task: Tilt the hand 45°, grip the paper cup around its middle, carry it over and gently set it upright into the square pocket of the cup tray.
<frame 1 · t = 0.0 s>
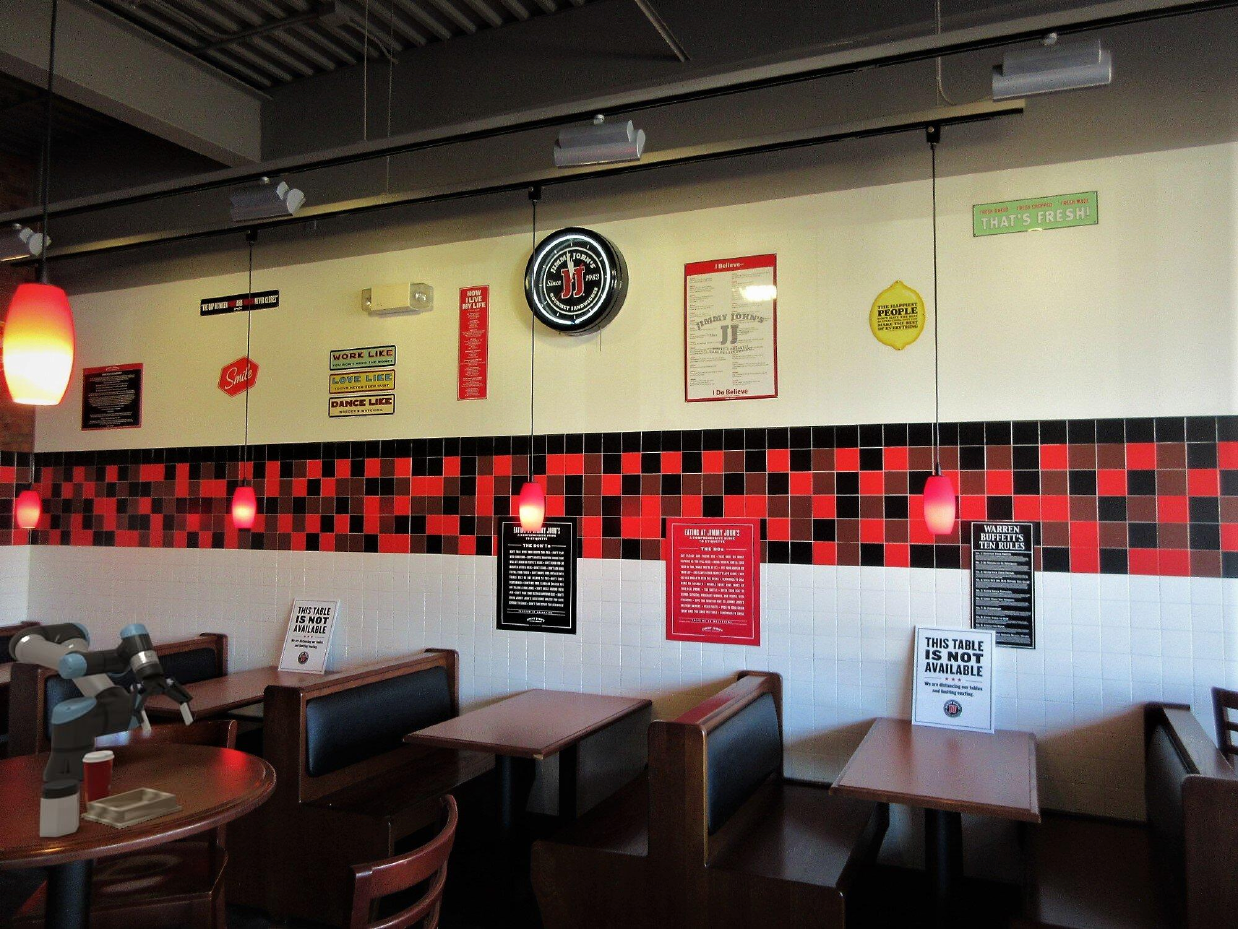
hand: (169, 727, 270), 15 cm above the table, tool tilted 35°, fingers open, 13 cm apart
paper cup: (97, 805, 243), on the table
cup tray: (132, 814, 235), on the table
jar: (59, 832, 222), on the table
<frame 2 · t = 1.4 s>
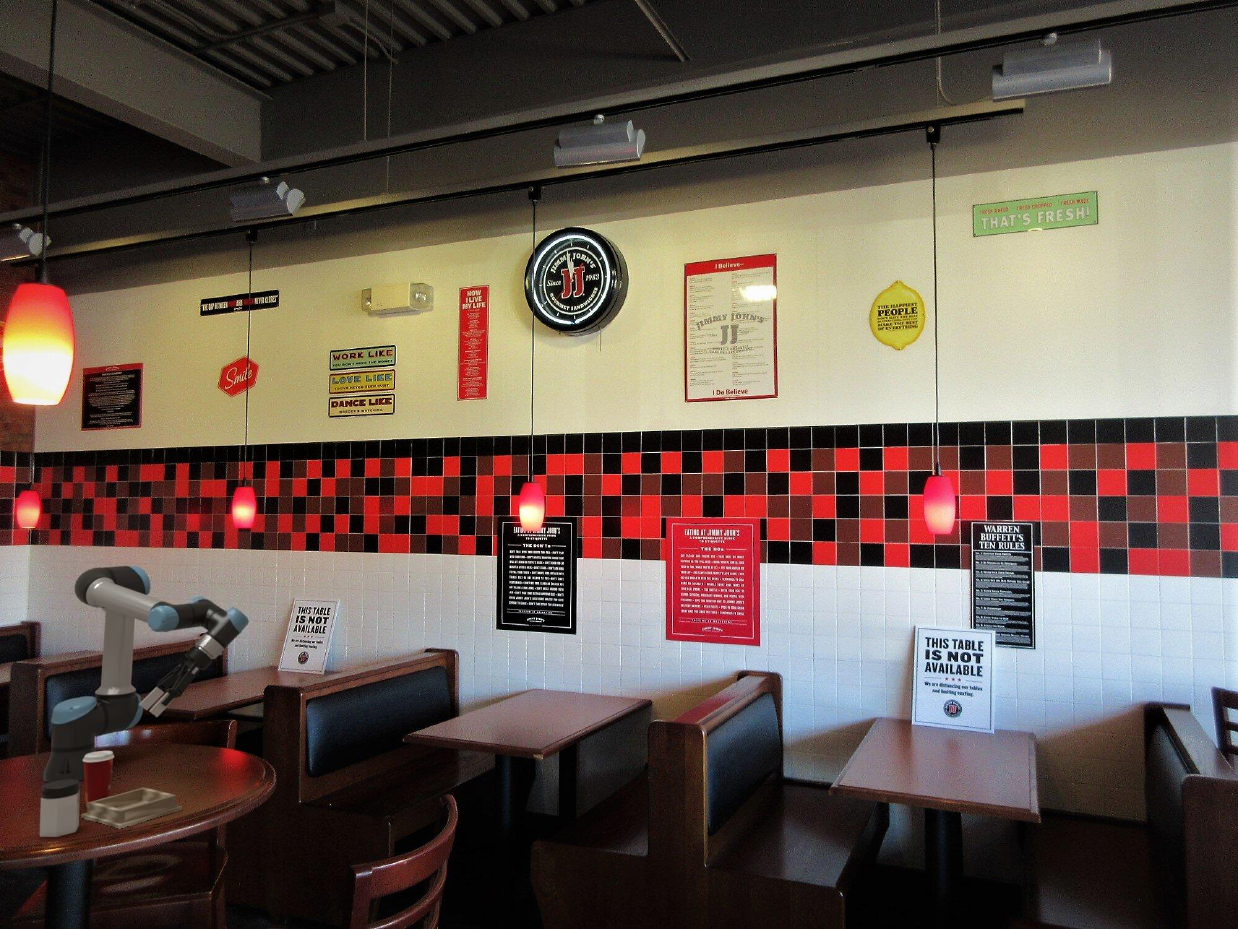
hand: (147, 710, 253), 24 cm above the table, tool tilted 45°, fingers open, 13 cm apart
nothing on the table moved.
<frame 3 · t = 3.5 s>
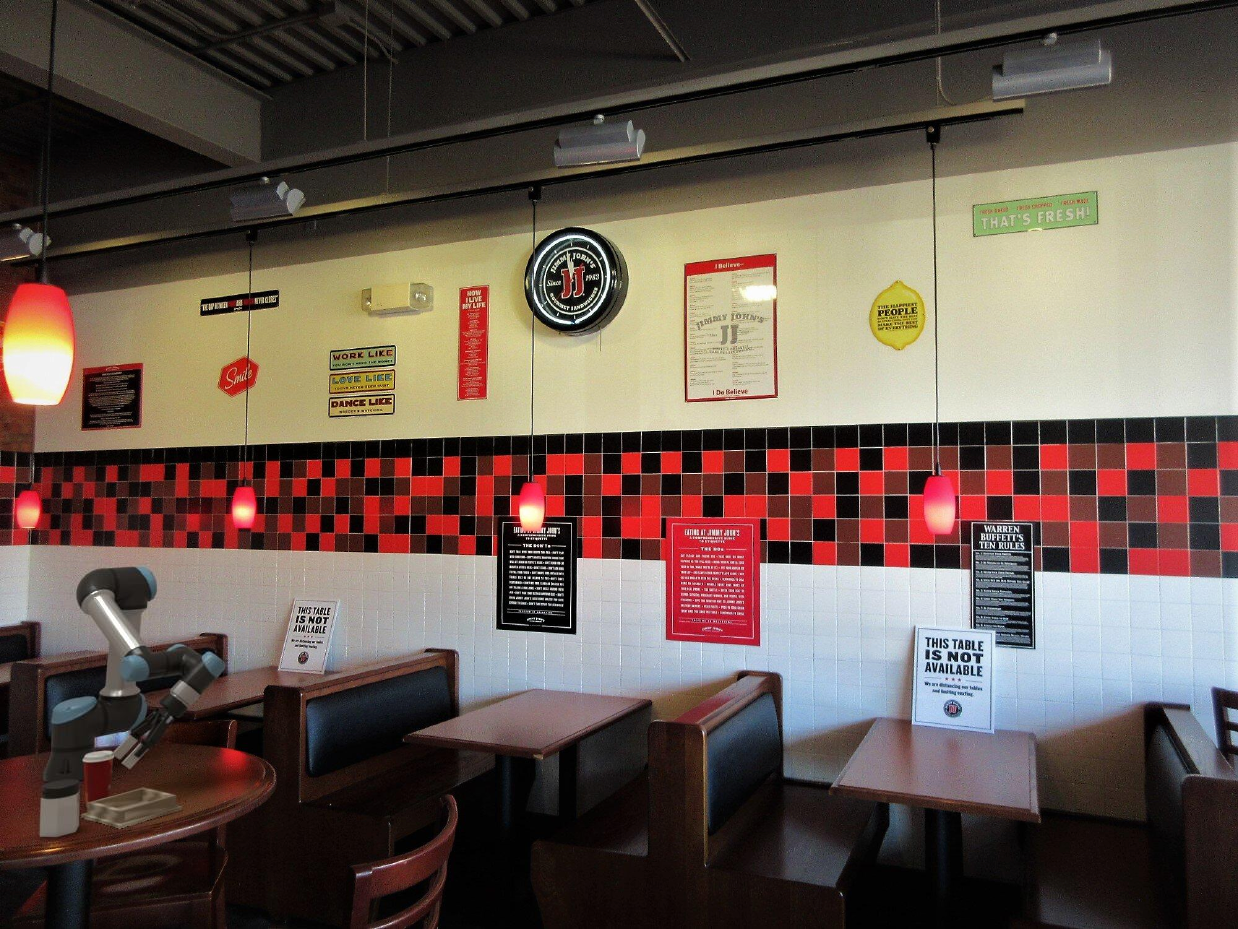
hand: (120, 761, 247), 11 cm above the table, tool tilted 45°, fingers open, 13 cm apart
nothing on the table moved.
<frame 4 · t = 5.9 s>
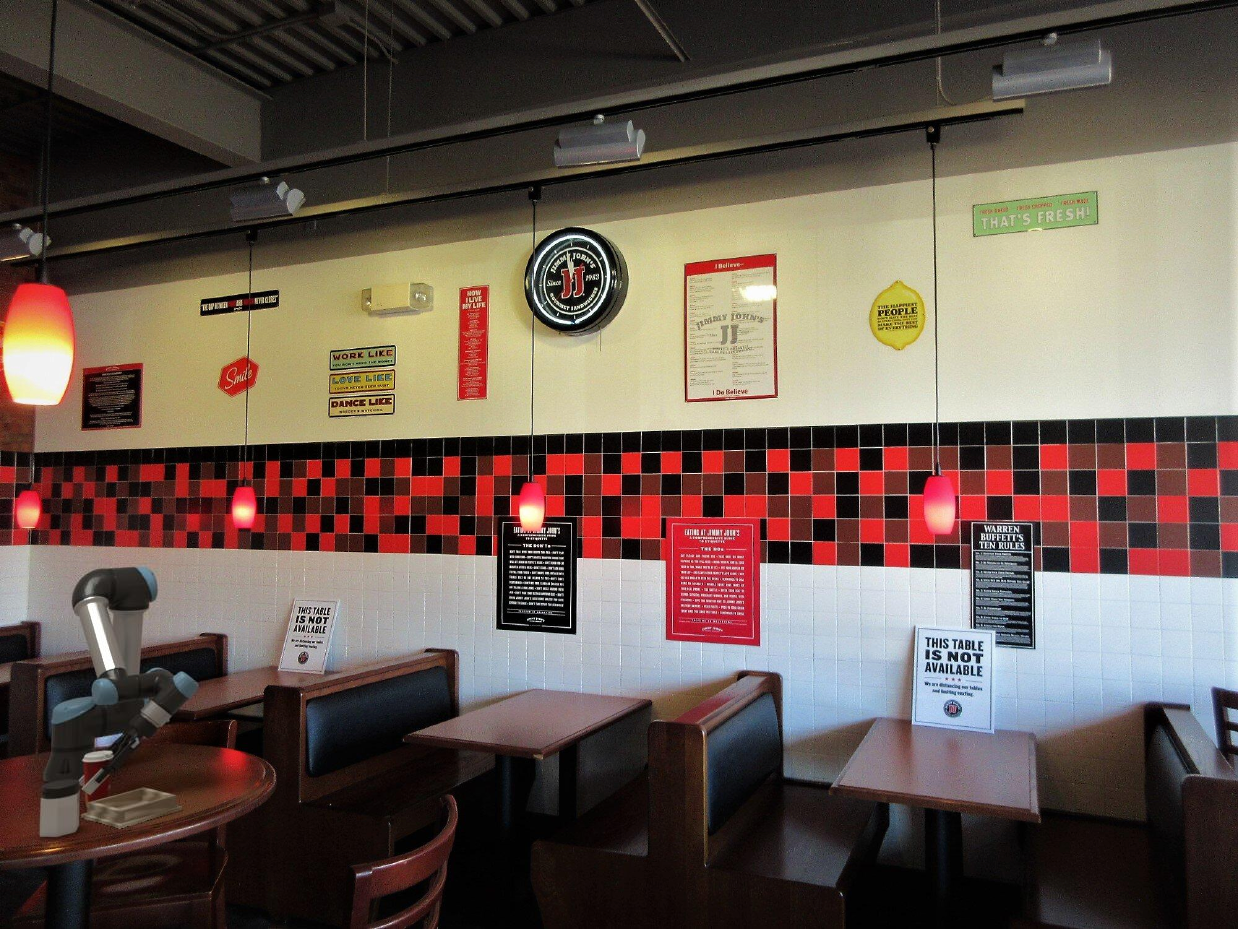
hand: (83, 788, 242), 5 cm above the table, tool tilted 45°, fingers closed on paper cup, 8 cm apart
paper cup: (97, 805, 243), on the table, touching gripper
everything else where it was.
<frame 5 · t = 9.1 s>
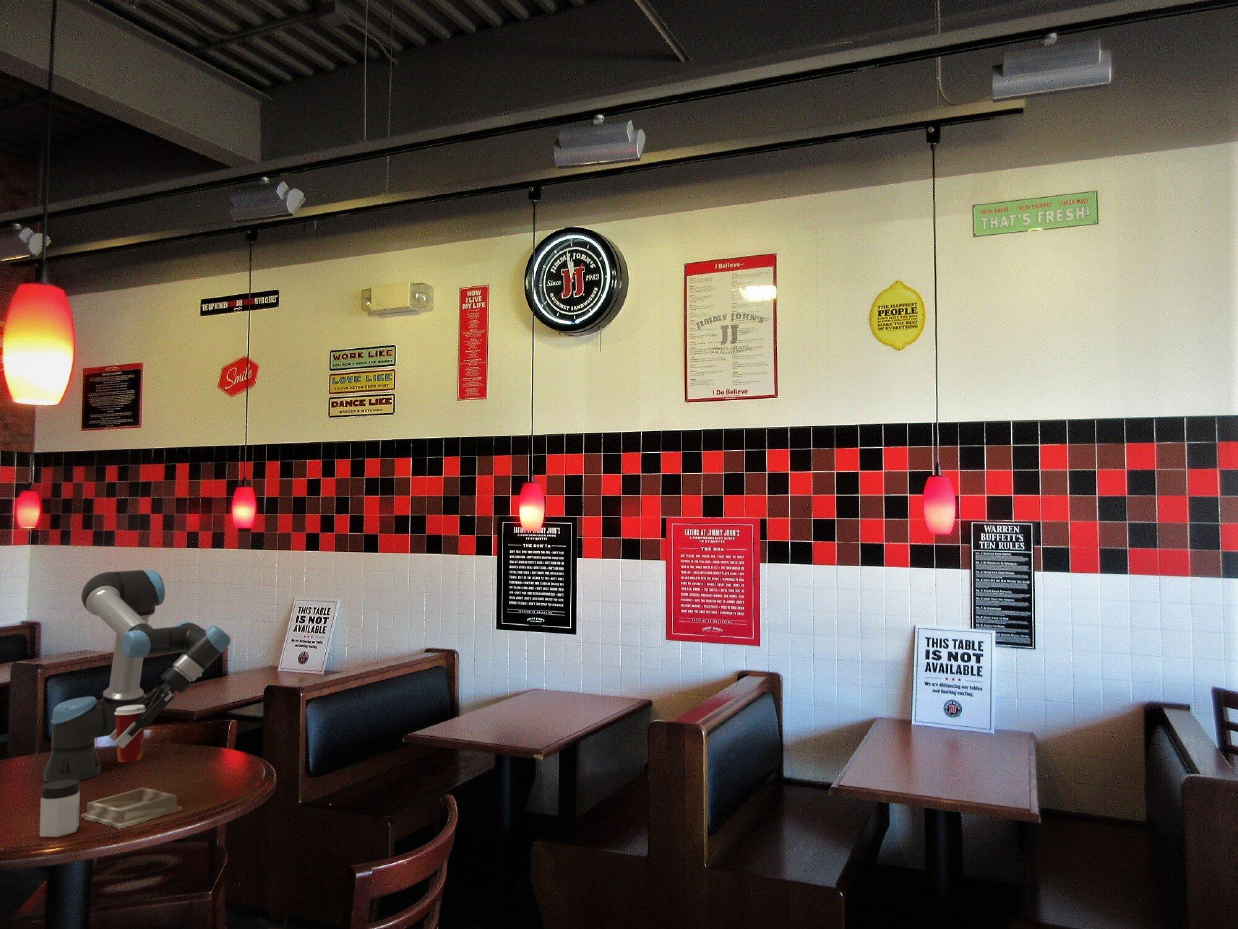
hand: (115, 742, 235), 19 cm above the table, tool tilted 45°, fingers closed on paper cup, 8 cm apart
paper cup: (129, 760, 237), point 14 cm above the table, touching gripper
everything else where it was.
when the fingers open (8 cm above the table, at t = 12.3 s): paper cup drops 2 cm, resting on cup tray.
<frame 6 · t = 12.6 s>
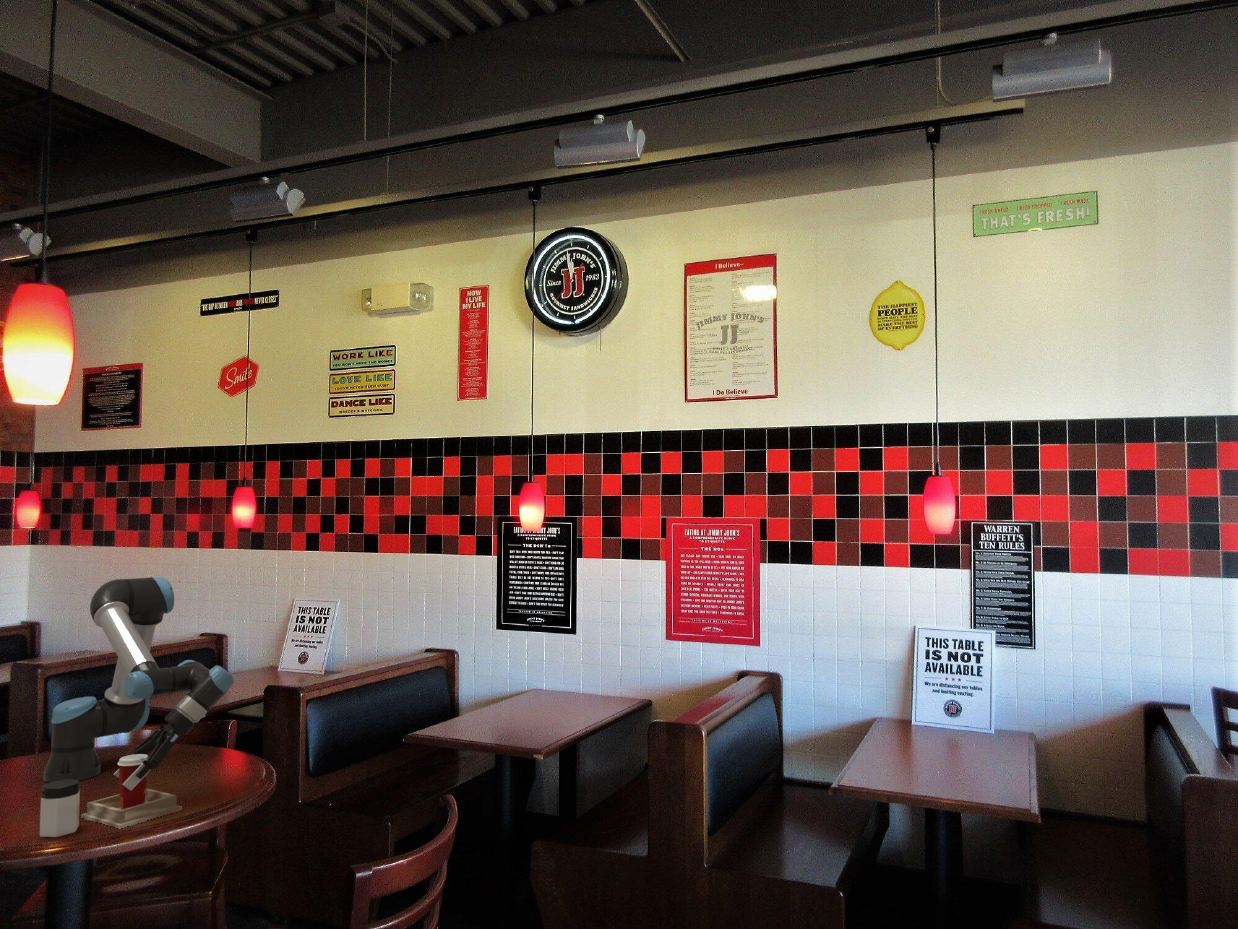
hand: (122, 782, 234), 9 cm above the table, tool tilted 45°, fingers open, 12 cm apart
paper cup: (132, 810, 235), point 1 cm above the table, touching cup tray
everything else where it was.
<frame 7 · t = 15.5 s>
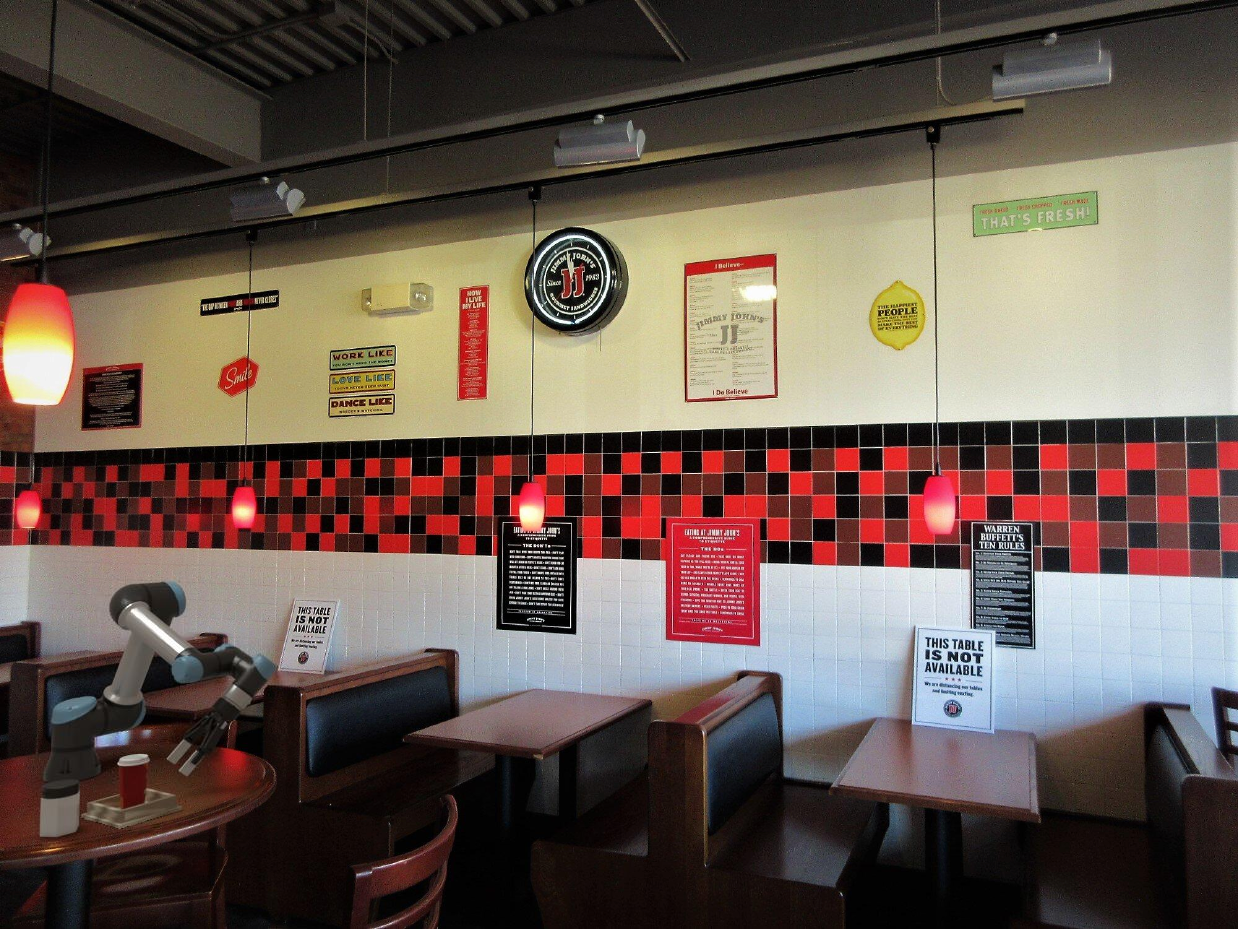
hand: (176, 767, 244), 10 cm above the table, tool tilted 40°, fingers open, 13 cm apart
nothing on the table moved.
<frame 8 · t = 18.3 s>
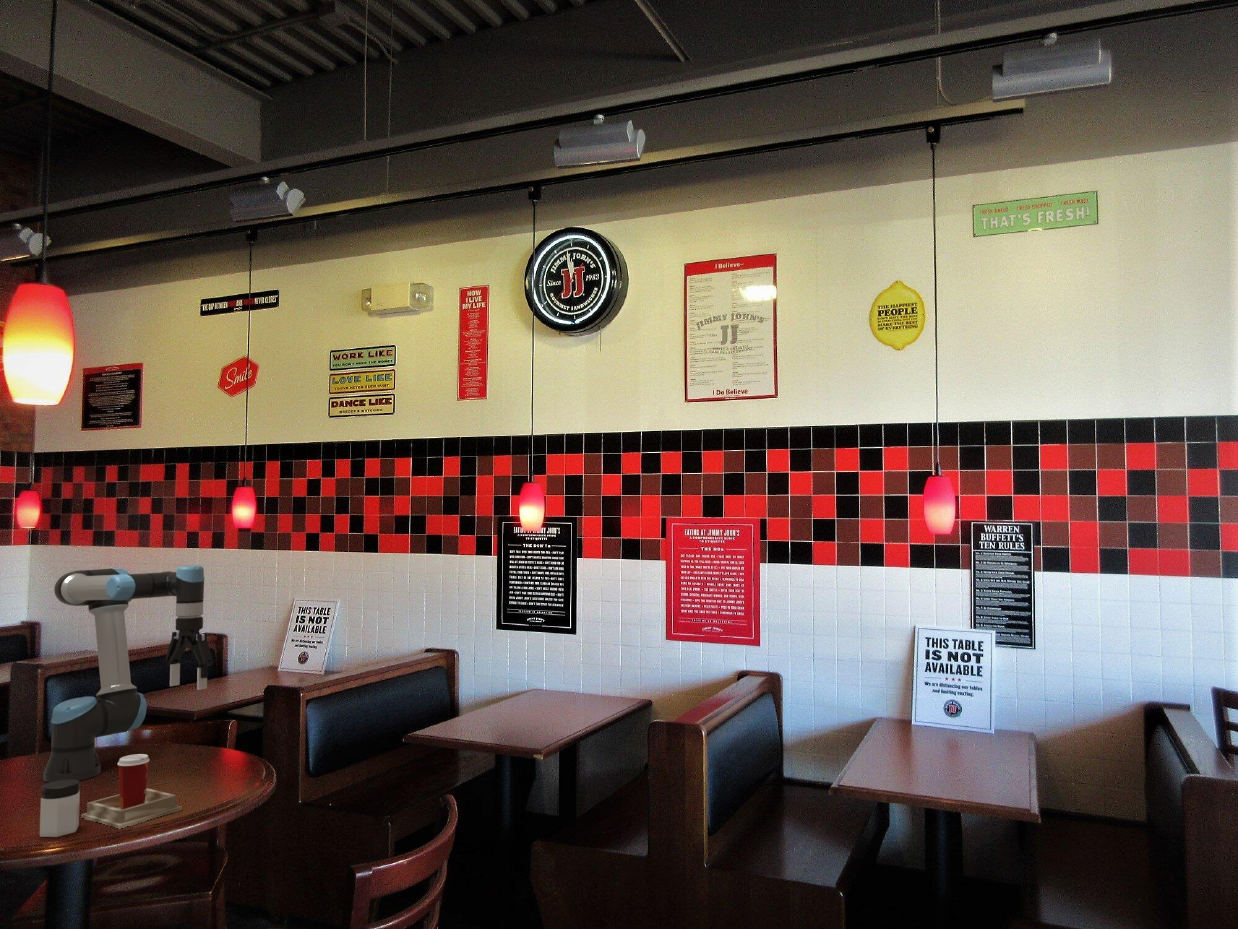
hand: (188, 687, 264), 29 cm above the table, tool pointing down, fingers open, 13 cm apart
nothing on the table moved.
at the end: paper cup inside the target area on the cup tray (0.4 cm from its centre), point 0.8 cm above the cup tray's base; paper cup tilted 0°; the gripper is holding nothing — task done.
